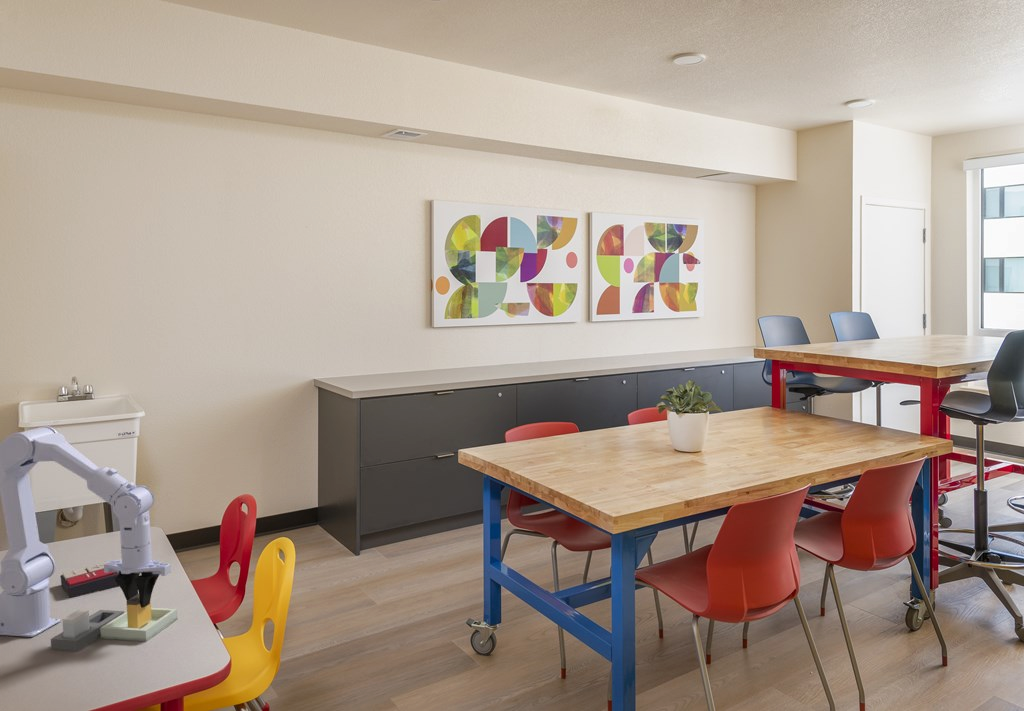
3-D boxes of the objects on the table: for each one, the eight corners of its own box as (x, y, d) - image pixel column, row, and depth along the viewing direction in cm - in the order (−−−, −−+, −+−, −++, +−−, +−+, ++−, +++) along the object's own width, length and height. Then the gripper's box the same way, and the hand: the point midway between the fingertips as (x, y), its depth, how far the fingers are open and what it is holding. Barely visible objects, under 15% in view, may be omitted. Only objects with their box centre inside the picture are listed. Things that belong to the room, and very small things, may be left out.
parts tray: (100, 638, 150) (100, 627, 150) (134, 616, 160) (134, 606, 160) (146, 641, 148) (145, 630, 148) (177, 619, 159) (177, 609, 158)
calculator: (59, 572, 179) (125, 554, 188) (61, 588, 179) (127, 570, 189) (67, 584, 170) (135, 566, 180) (69, 602, 171) (137, 582, 181)
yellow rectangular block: (128, 628, 152) (126, 600, 152) (141, 618, 156) (140, 592, 156) (138, 628, 152) (136, 601, 151) (151, 619, 156) (150, 593, 155)
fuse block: (51, 649, 145) (50, 639, 145) (100, 619, 159) (100, 609, 159) (77, 651, 144) (76, 640, 144) (124, 620, 158) (124, 611, 158)
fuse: (64, 647, 146) (62, 619, 146) (80, 637, 150) (78, 609, 150) (74, 647, 146) (72, 619, 145) (90, 637, 150) (88, 610, 150)
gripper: (92, 549, 150) (95, 611, 151) (154, 552, 148) (157, 615, 149) (115, 538, 157) (118, 597, 158) (175, 540, 155) (178, 601, 156)
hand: (139, 605), depth 154 cm, fingers closed on yellow rectangular block, 2 cm apart
